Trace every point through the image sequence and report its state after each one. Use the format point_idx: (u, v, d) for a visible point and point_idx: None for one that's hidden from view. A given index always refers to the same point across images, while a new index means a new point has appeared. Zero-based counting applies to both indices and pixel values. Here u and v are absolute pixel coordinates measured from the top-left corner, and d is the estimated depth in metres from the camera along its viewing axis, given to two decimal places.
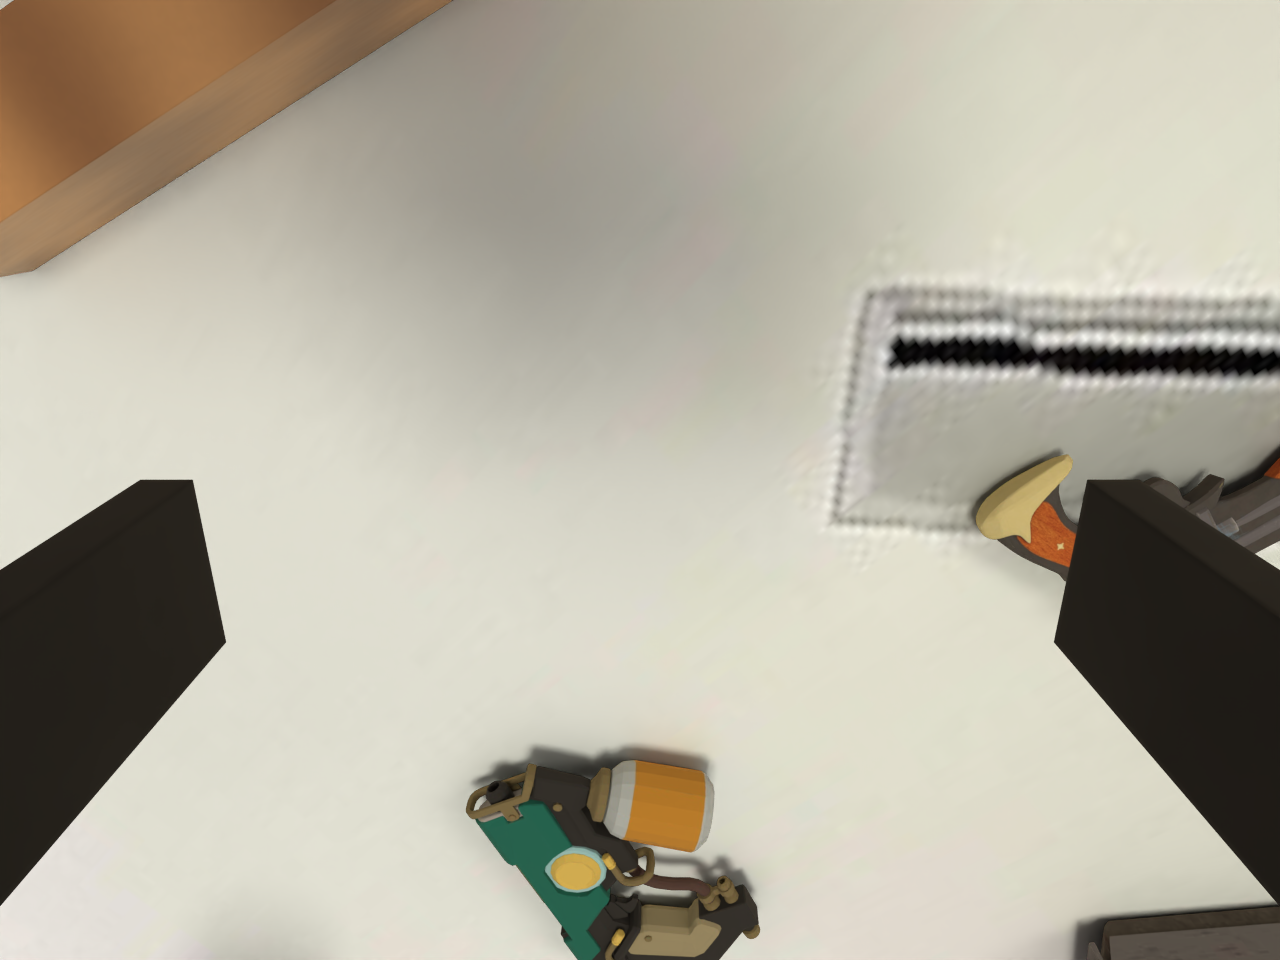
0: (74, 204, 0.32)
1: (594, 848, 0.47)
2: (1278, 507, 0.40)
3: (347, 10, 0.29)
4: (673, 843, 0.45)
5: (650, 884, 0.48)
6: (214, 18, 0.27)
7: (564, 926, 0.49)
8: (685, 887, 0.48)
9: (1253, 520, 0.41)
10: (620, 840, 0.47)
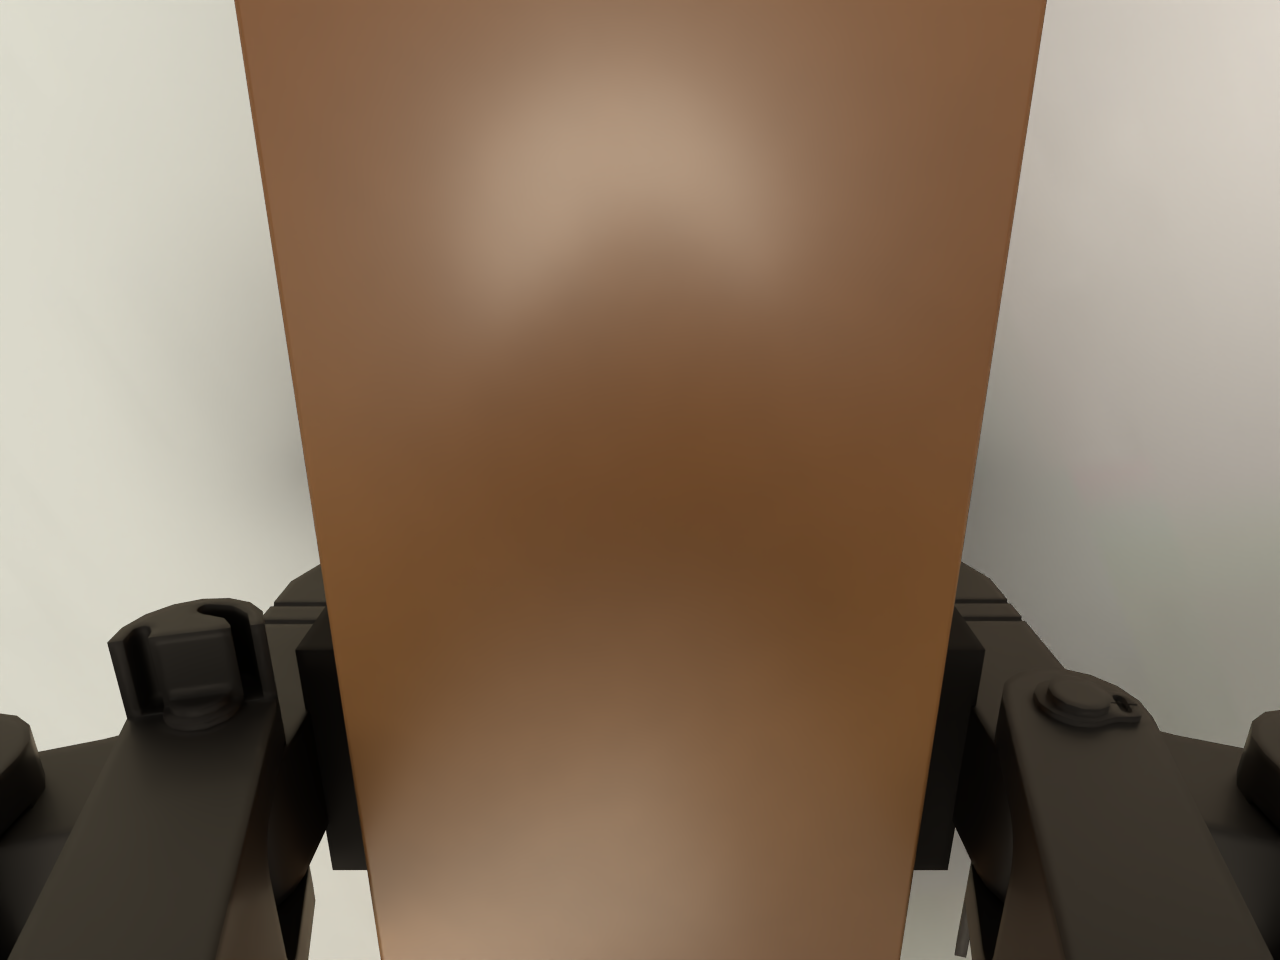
0: None
1: None
2: None
3: None
4: None
5: None
6: None
7: None
8: None
9: None
10: None
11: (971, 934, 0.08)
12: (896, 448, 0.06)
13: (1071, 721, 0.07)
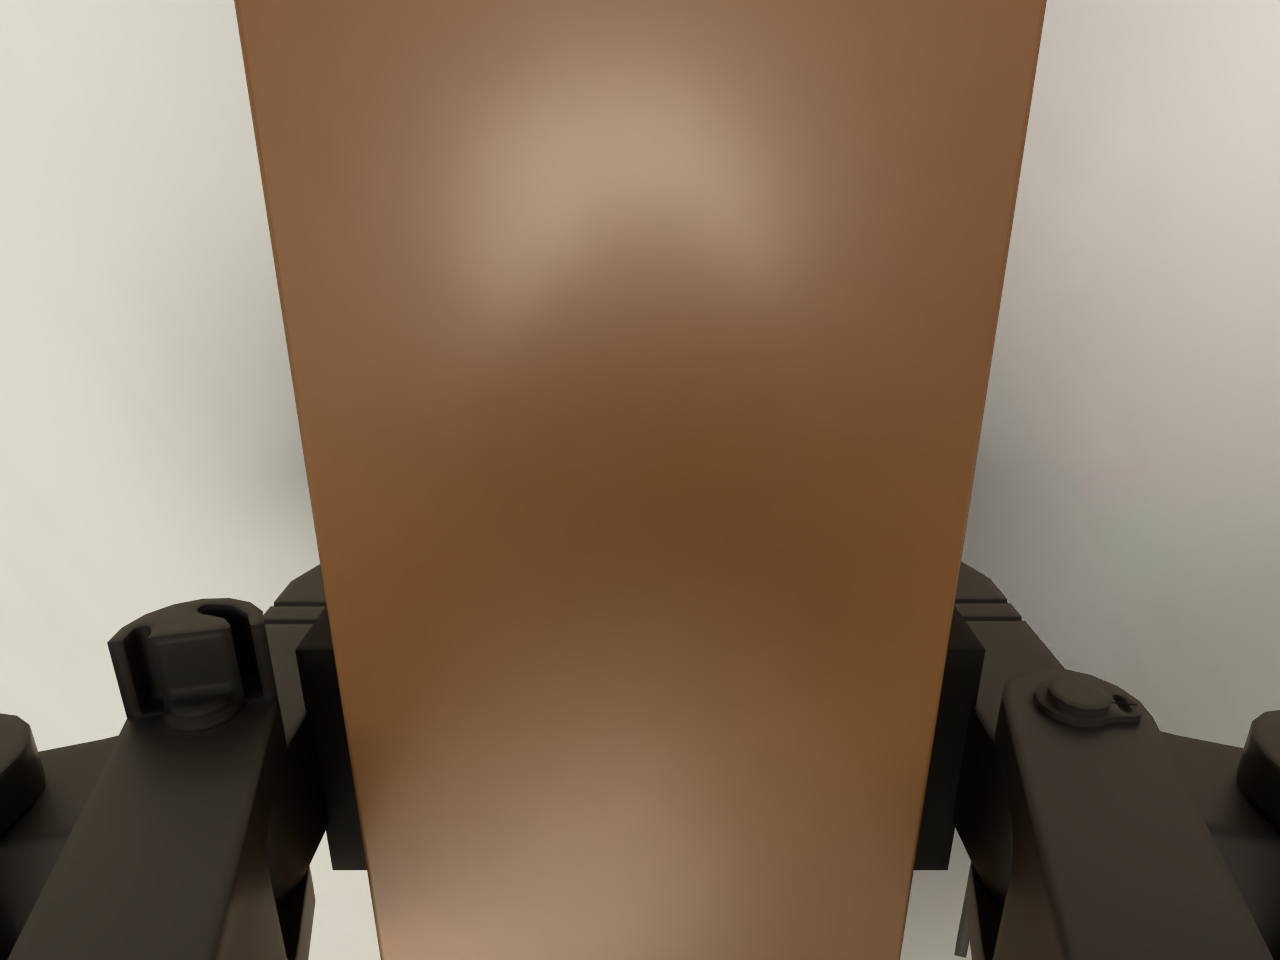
0: None
1: None
2: None
3: None
4: None
5: None
6: None
7: None
8: None
9: None
10: None
11: (971, 934, 0.08)
12: (896, 448, 0.06)
13: (1070, 721, 0.07)
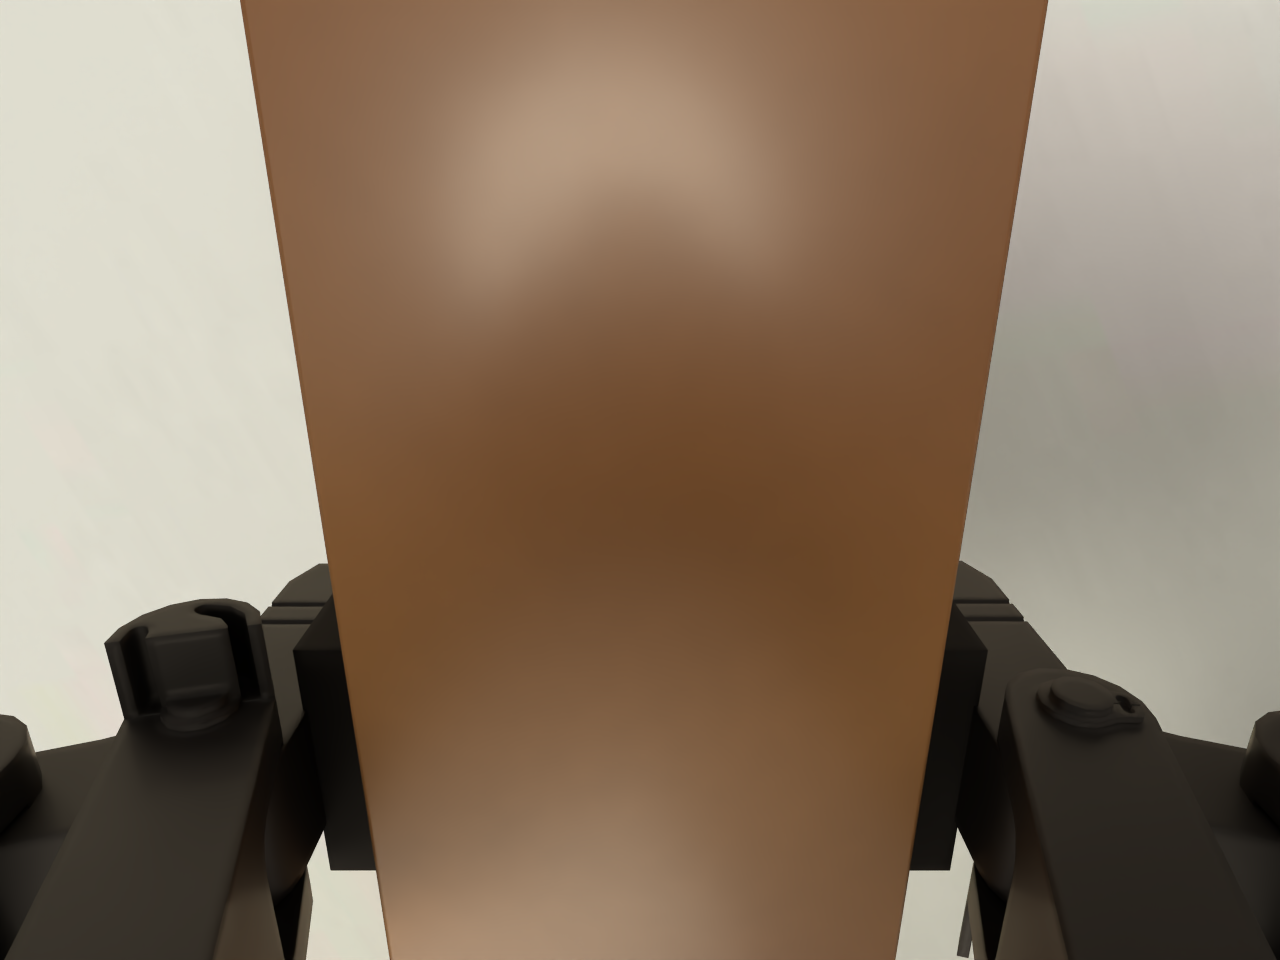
0: None
1: None
2: None
3: None
4: None
5: None
6: None
7: None
8: None
9: None
10: None
11: (973, 935, 0.08)
12: (896, 446, 0.06)
13: (1074, 722, 0.07)
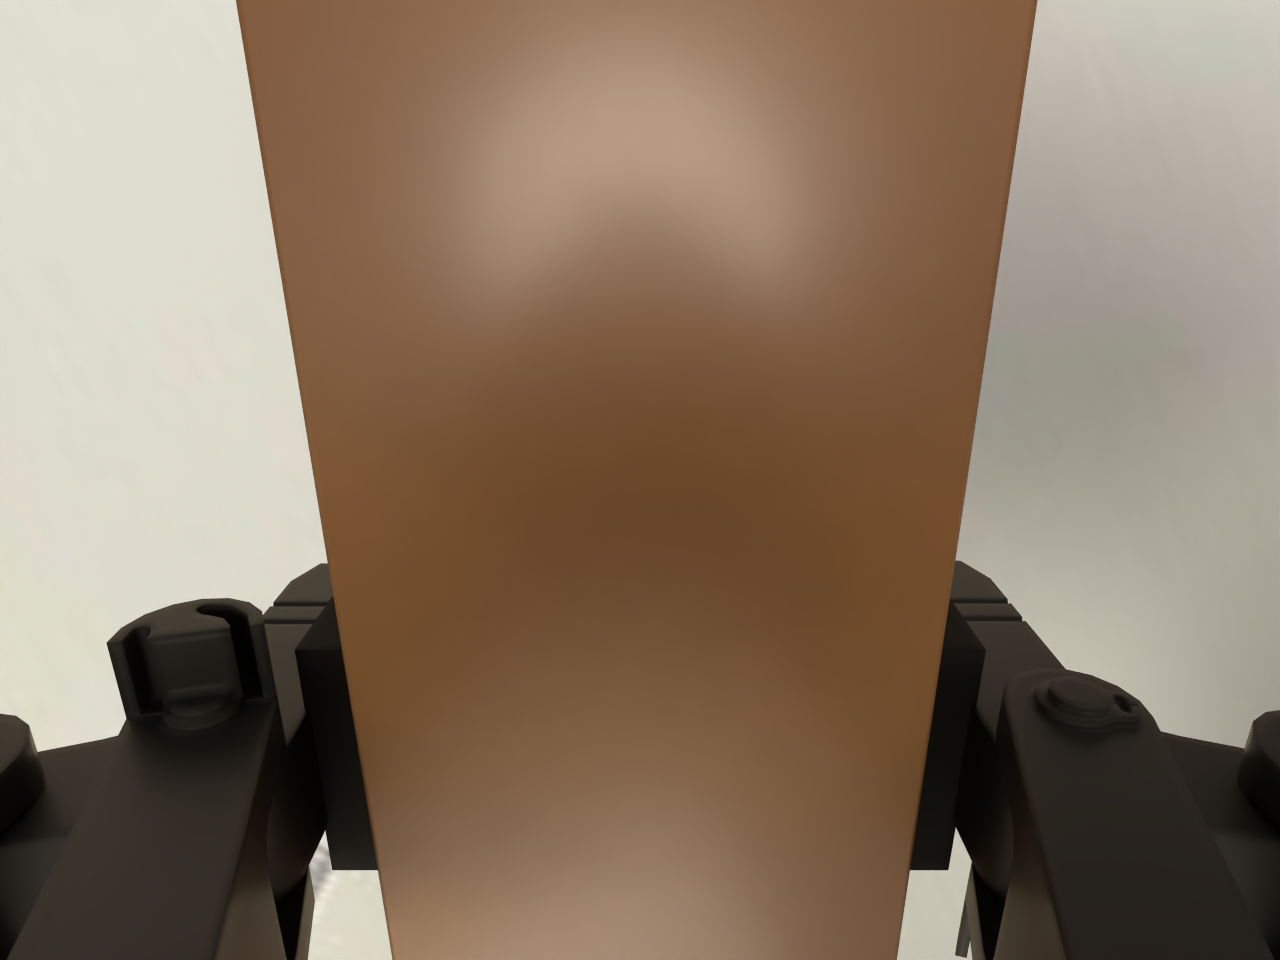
0: None
1: None
2: None
3: None
4: None
5: None
6: None
7: None
8: None
9: None
10: None
11: (971, 934, 0.08)
12: (891, 442, 0.06)
13: (1071, 722, 0.07)
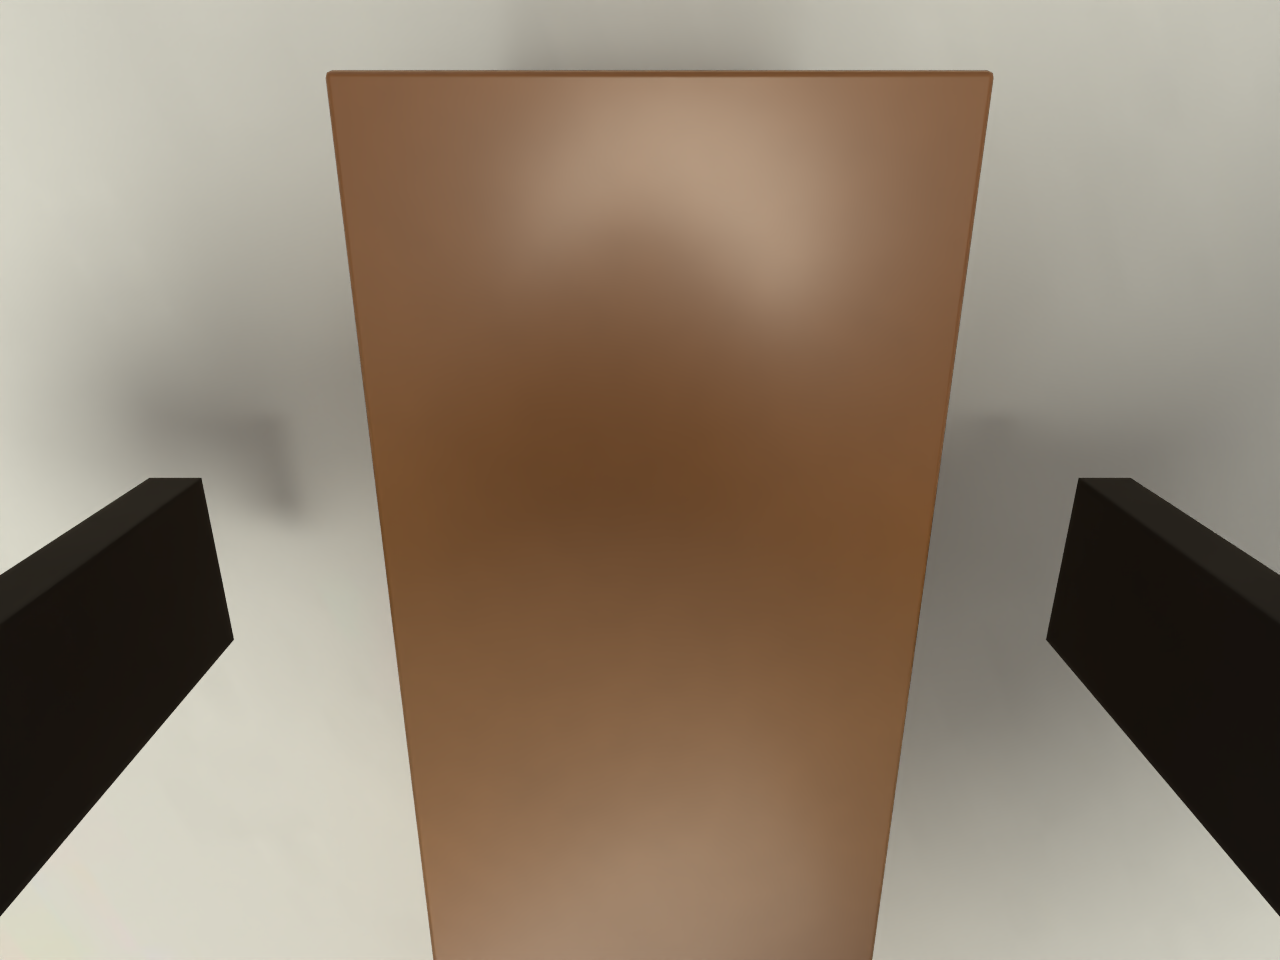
0: None
1: None
2: None
3: None
4: None
5: None
6: None
7: None
8: None
9: None
10: None
11: None
12: (873, 450, 0.07)
13: None
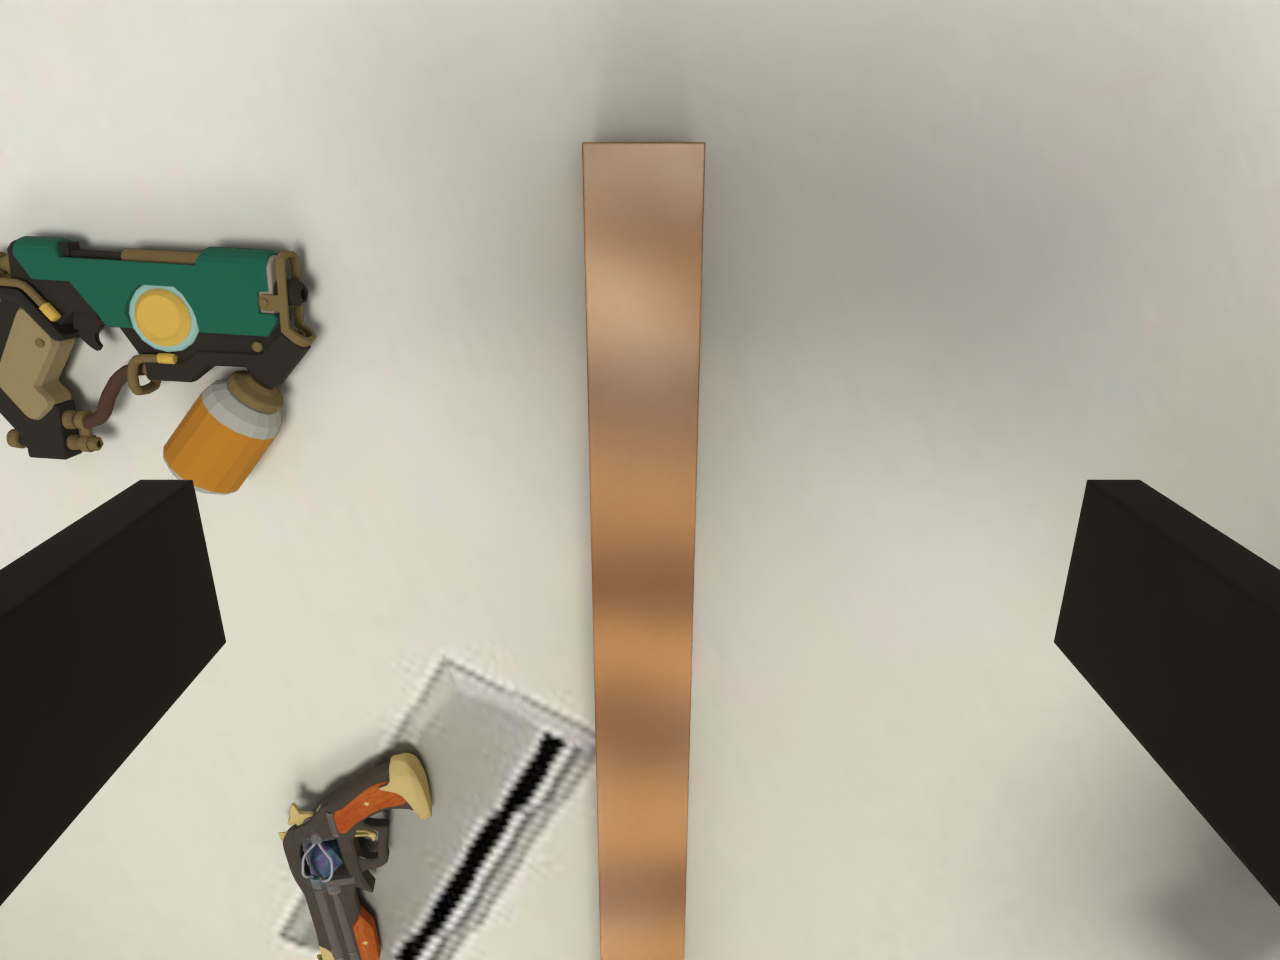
0: None
1: (186, 348, 0.43)
2: (336, 914, 0.57)
3: None
4: (186, 454, 0.43)
5: (117, 378, 0.43)
6: (621, 514, 0.40)
7: (82, 261, 0.41)
8: (103, 409, 0.44)
9: (333, 901, 0.57)
10: (190, 381, 0.43)
11: None
12: (688, 219, 0.35)
13: None
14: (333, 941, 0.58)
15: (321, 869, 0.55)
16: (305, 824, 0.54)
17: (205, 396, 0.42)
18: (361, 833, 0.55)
